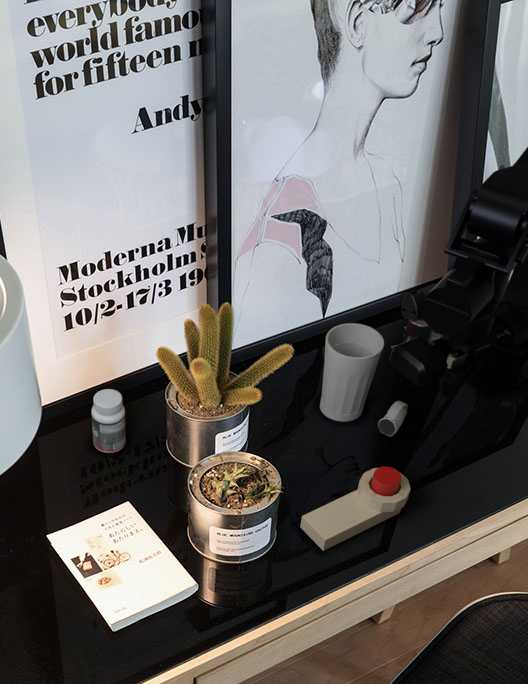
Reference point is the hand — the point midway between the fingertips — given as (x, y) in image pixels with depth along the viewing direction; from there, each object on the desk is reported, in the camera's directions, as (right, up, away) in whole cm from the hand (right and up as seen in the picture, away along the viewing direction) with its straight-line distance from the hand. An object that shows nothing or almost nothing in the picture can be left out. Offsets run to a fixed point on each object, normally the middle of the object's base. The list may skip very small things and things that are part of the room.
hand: (446, 395), depth 124 cm
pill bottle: (-44, -4, +13) cm, 47 cm away
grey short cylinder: (-3, -3, +14) cm, 14 cm away
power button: (-8, -12, +2) cm, 14 cm away
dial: (+3, +13, +21) cm, 25 cm away
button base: (-12, -16, +3) cm, 20 cm away
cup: (-10, +2, +17) cm, 20 cm away
